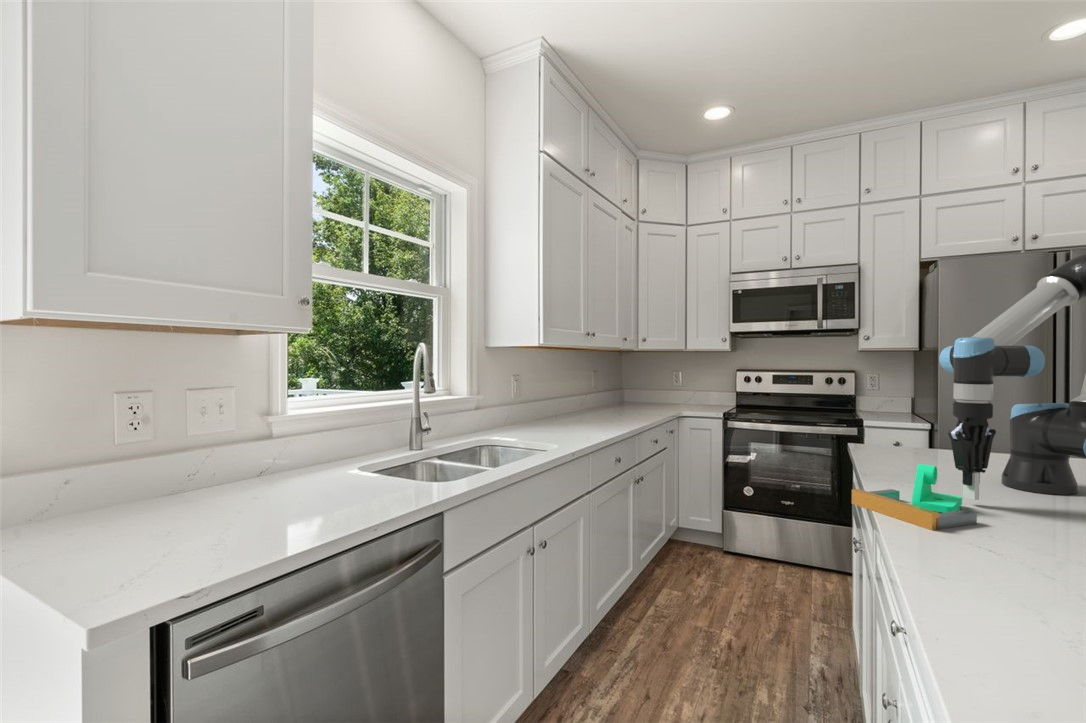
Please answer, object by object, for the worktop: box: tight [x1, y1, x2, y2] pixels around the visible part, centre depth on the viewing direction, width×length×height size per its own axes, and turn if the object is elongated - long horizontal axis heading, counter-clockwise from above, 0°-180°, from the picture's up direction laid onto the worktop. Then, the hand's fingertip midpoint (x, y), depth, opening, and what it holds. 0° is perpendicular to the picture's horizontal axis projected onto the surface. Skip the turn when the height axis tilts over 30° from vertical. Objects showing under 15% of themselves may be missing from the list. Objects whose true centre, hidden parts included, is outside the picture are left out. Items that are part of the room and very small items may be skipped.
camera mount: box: [911, 463, 963, 513], centre depth 126 cm, size 12×8×10 cm, turn 133°
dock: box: [851, 488, 978, 531], centre depth 123 cm, size 13×20×4 cm, turn 17°
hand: (970, 498), depth 129 cm, fingers closed
